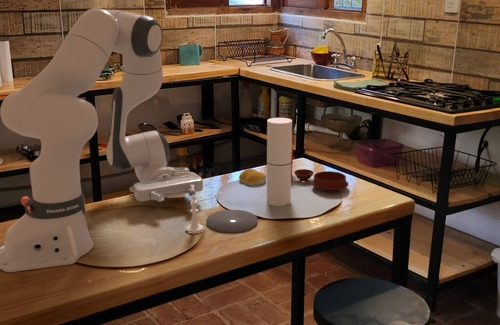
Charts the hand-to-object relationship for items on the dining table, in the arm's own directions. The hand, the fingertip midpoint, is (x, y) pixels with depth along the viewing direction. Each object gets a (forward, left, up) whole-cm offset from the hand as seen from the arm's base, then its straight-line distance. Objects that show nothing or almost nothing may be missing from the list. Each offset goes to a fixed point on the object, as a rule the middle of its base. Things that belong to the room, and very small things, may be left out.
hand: (177, 196), depth 159 cm
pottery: (+49, +1, -6) cm, 49 cm away
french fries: (+45, +17, -6) cm, 48 cm away
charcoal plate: (+11, -12, -6) cm, 17 cm away
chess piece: (0, -12, -6) cm, 13 cm away
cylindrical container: (+30, -5, -6) cm, 31 cm away
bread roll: (+32, +15, -6) cm, 36 cm away
